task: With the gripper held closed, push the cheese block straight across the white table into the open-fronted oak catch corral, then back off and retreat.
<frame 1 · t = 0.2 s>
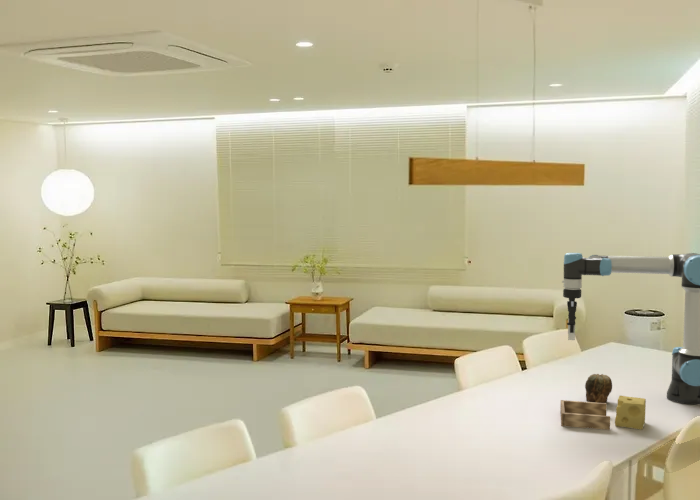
hand: (571, 336, 305), 28 cm above the table, fingers open, 13 cm apart
corral: (584, 420, 279), on the table
shell: (598, 401, 305), on the table
cheese: (630, 425, 274), on the table
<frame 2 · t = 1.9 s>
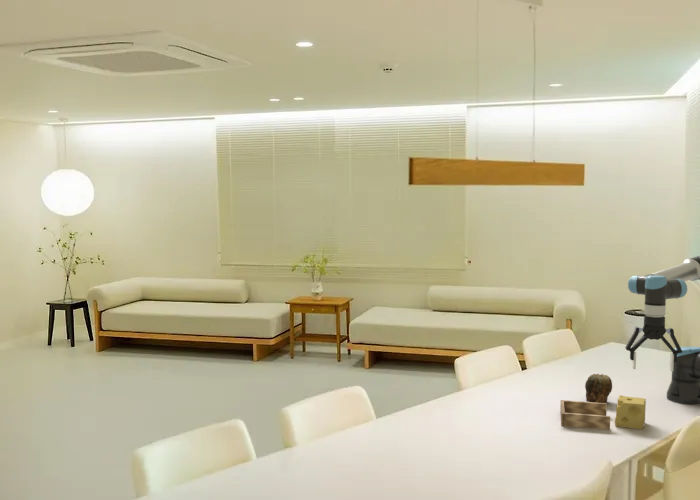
hand: (652, 369, 273), 22 cm above the table, fingers open, 13 cm apart
nothing on the table moved.
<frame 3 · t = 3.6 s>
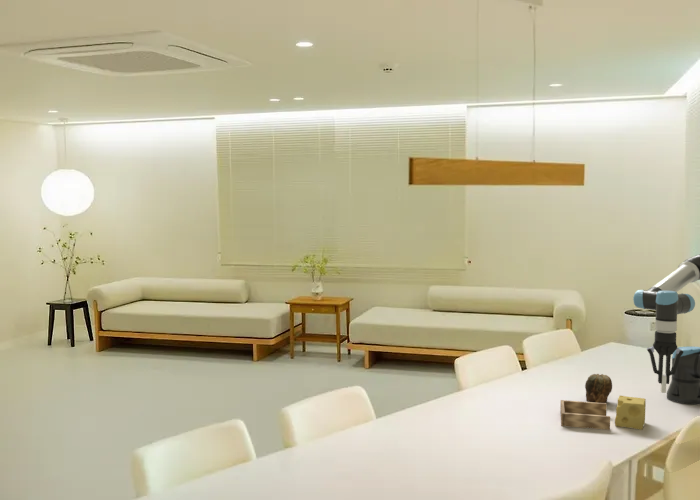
hand: (663, 391, 270), 14 cm above the table, fingers closed
nothing on the table moved.
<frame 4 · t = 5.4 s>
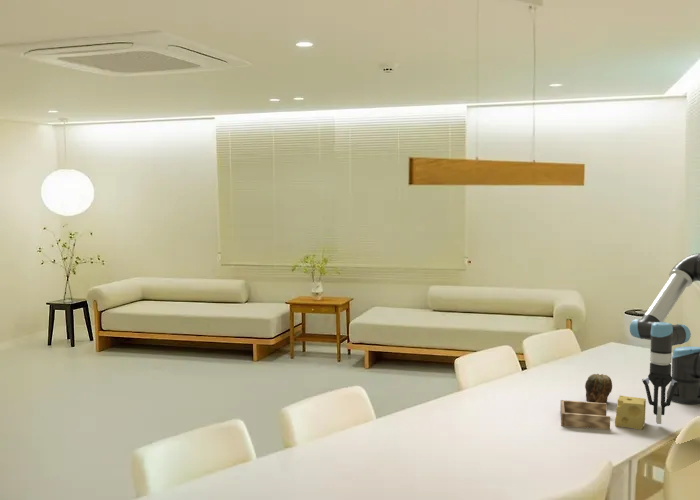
hand: (658, 422, 271), 1 cm above the table, fingers closed
nothing on the table moved.
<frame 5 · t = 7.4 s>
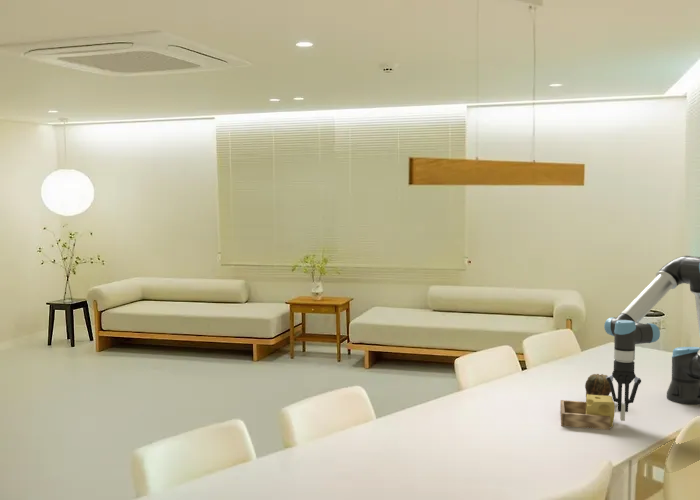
hand: (622, 419, 275), 2 cm above the table, fingers closed
cheese: (599, 423, 276), on the table, touching hand
everything else where it was.
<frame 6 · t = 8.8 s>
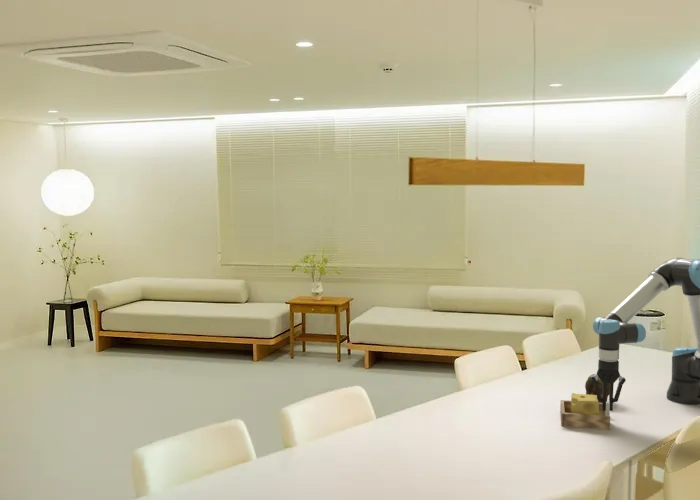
hand: (607, 418, 276), 2 cm above the table, fingers closed
cheese: (584, 422, 278), on the table, touching hand
everything else where it was.
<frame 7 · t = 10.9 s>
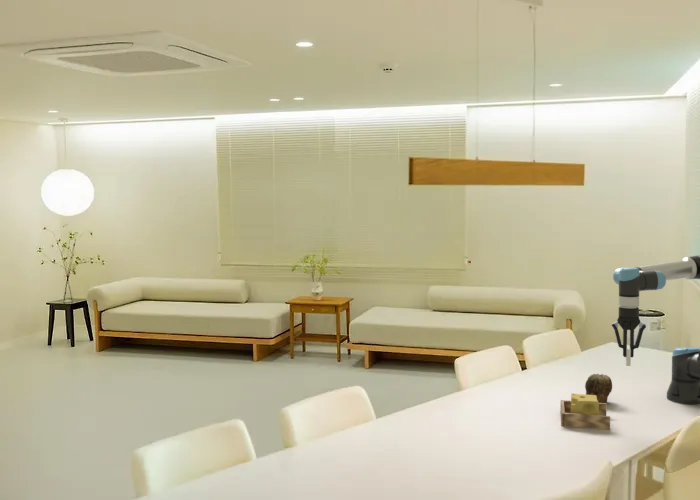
hand: (628, 365, 280), 22 cm above the table, fingers closed
cheese: (583, 422, 278), on the table
everything else where it was.
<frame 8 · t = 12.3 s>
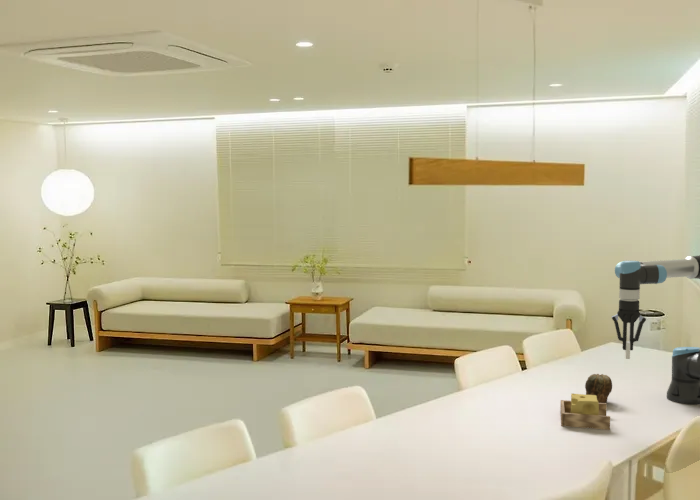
hand: (627, 358, 280), 24 cm above the table, fingers closed
nothing on the table moved.
at the end: cheese inside the target area on the corral (1.2 cm from its centre), point 0.0 cm above the corral's base; cheese moved 17.5 cm from its start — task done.
